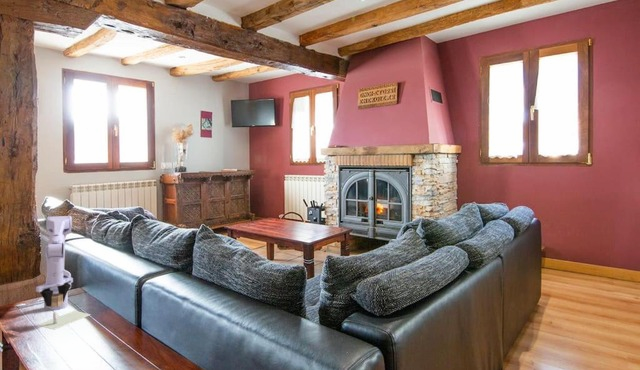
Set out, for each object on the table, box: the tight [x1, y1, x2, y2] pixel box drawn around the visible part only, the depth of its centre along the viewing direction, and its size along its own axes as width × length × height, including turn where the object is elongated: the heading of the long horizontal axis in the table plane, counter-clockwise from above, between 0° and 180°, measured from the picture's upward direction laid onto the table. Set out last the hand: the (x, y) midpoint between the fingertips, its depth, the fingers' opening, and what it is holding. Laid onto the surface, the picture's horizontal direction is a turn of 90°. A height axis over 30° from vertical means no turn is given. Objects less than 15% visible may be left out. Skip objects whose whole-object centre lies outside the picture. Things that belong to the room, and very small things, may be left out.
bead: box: [48, 293, 63, 307], centre depth 163 cm, size 5×5×4 cm
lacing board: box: [37, 310, 92, 331], centre depth 167 cm, size 10×17×6 cm, turn 161°
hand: (55, 303), depth 163 cm, fingers closed on bead, 5 cm apart
